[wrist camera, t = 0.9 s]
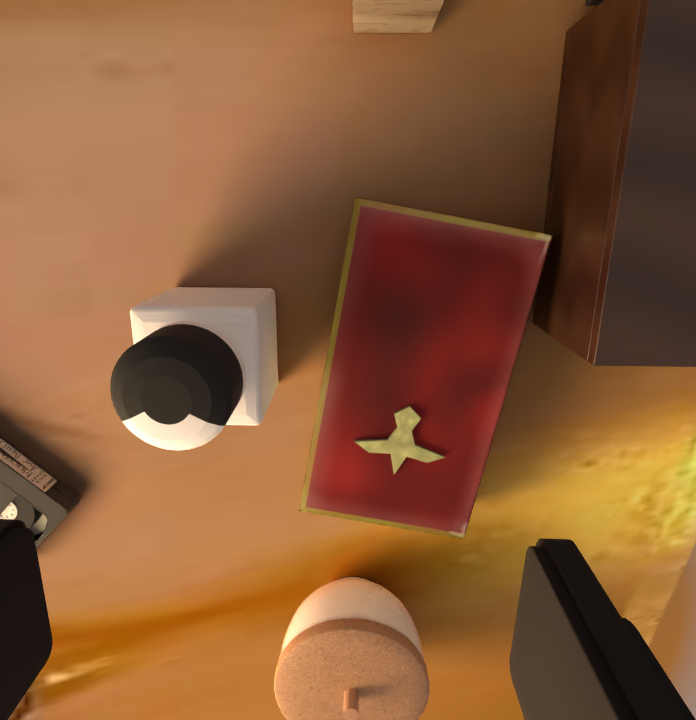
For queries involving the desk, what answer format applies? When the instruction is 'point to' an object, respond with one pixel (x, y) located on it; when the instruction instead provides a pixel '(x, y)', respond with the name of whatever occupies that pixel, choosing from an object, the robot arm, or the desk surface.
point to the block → (395, 16)
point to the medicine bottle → (197, 364)
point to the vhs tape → (32, 493)
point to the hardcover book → (418, 365)
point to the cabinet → (624, 188)
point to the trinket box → (351, 657)
